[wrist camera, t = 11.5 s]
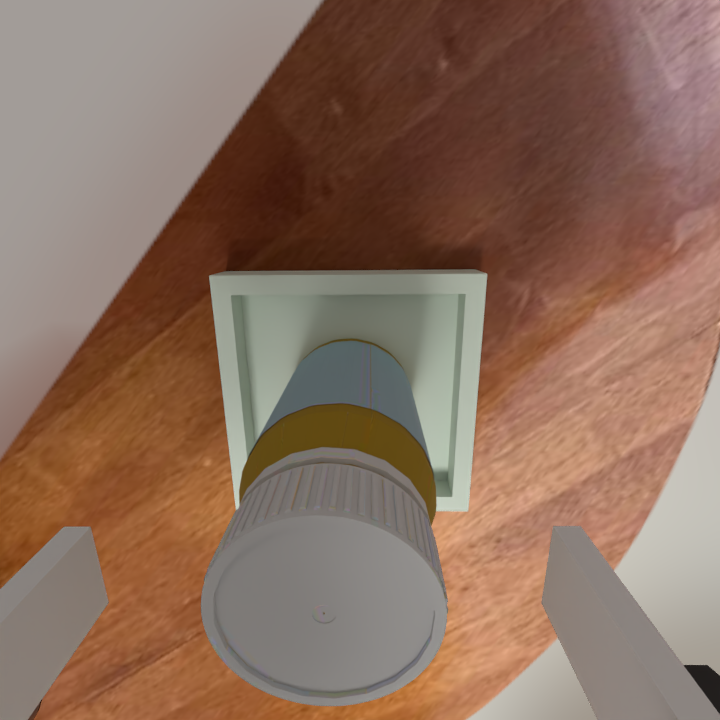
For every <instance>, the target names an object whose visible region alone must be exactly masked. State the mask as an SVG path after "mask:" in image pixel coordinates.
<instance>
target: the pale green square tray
mask: <svg viewBox="0 0 720 720" xmlns="http://www.w3.org/2000/svg"><path fill="white" fill-rule="evenodd" d="M209 280H210V289H211V297H212V306H213V315H214V323H215V332H216V341H217V349H218V358H219V366H220V375H221V384H222V392H223V401H224V410H225V418H226V427H227V436H228V444H229V453H230V462H231V470H232V479H233V488H234V496H235V505H236V510H237V509H238V508H239V505H240V504H239V488H240V482H241V476H242V471H243V468H244V466H245V464H246V462H247V459H248V456H249V454H250V452H251V450H252V449H253V447H254V445H255V443H256V441H257V439H258V438H259V436H260V434H261V432H262V430H263V428H264V426H265V425H266V423H267V421H268V419H269V417H270V415H271V414H272V412H273V410H274V408H275V406H276V404H277V403H278V401H279V399H280V397H281V395H282V393H283V392H284V390H285V388H286V386H287V384H288V382H289V381H290V379H291V377H292V375H293V373H294V372H295V370H296V368H297V367H298V365H299V364H300V362H301V361H302V360H303V358H304V357H306V356H307V355H308V354H309V353H310V352H311V351H313V350H314V349H315V348H317V347H318V346H320V345H323V344H325V343H328V342H330V341H333V340H337V339H350V338H353V339H360V340H364V341H369V342H372V343H375V344H377V345H378V346H380V347H382V348H384V349H385V350H387V351H388V352H390V353H391V354H392V355H393V356H394V357H395V358H396V360H397V361H398V362H399V363H400V364H401V365H402V367H403V369H404V371H405V373H406V376H407V378H408V380H409V383H410V385H411V389H412V393H413V397H414V400H415V404H416V408H417V412H418V416H419V419H420V423H421V427H422V431H423V435H424V438H425V442H426V446H427V450H428V454H429V457H430V461H431V465H432V469H433V473H434V480H435V485H436V504H437V506H436V511H468V507H469V495H470V483H471V470H472V458H473V445H474V433H475V420H476V408H477V396H478V383H479V371H480V358H481V346H482V333H483V321H484V309H485V296H486V284H487V273H484V272H481V271H478V270H476V269H450V270H318V271H224V272H221V273H217V274H213V275H210V276H209Z"/></svg>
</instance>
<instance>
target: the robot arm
mask: <svg viewBox="0 0 720 720" xmlns="http://www.w3.org/2000/svg"><path fill="white" fill-rule="evenodd" d="M108 603H109V602H108V598H107V594H106V589H105V585H104V581H103V577H102V573H101V568H100V564H99V560H98V556H97V552H96V547H95V543H94V539H93V535H92V531H91V527H63V528H62V529H61V530H60V531H59V532H58V533H57V534H56V535H55V536H54V537H53V538H52V539H51V540H50V541H49V542H48V543H47V544H46V545H45V546H44V547H43V548H42V549H41V550H40V551H39V552H38V553H37V554H36V555H35V556H34V557H33V558H32V559H31V560H30V561H29V562H28V563H26V564H25V565H24V566H23V567H22V568H21V569H20V570H19V571H18V572H17V573H16V574H15V575H14V576H13V577H12V578H11V579H10V580H9V581H8V582H7V583H6V584H5V585H4V586H3V587H2V588H1V589H0V720H34V718H35V716H36V714H37V712H38V709H39V705H40V701H41V700H42V698H43V697H44V695H45V694H46V693H47V691H48V690H49V688H50V687H51V685H52V684H53V682H54V681H55V680H56V678H57V677H58V675H59V674H60V672H61V671H62V669H63V668H64V667H65V665H66V664H67V662H68V661H69V659H70V658H71V656H72V655H73V653H74V652H75V651H76V649H77V648H78V646H79V645H80V643H81V642H82V640H83V639H84V638H85V636H86V635H87V633H88V632H89V630H90V629H91V627H92V626H93V625H94V623H95V622H96V620H97V619H98V617H99V616H100V614H101V613H102V612H103V610H104V609H105V607H106V606H107V604H108ZM542 605H543V607H544V609H545V611H546V613H547V615H548V618H549V620H550V622H551V624H552V626H553V628H554V630H555V632H556V634H557V636H558V638H559V640H560V643H561V645H562V647H563V649H564V651H565V653H566V655H567V657H568V659H569V661H570V663H571V665H572V668H573V669H574V672H575V673H576V676H577V678H578V680H579V682H580V684H581V686H582V688H583V690H584V693H585V694H586V697H587V699H588V701H589V703H590V705H591V707H592V709H593V711H594V713H595V715H596V717H597V720H720V676H719V675H718V674H717V673H716V672H715V671H714V670H712V669H711V668H710V667H709V666H708V665H683V664H682V663H681V661H680V660H679V659H678V657H677V656H676V655H675V653H674V652H673V650H672V649H671V648H670V647H669V645H668V644H667V642H666V641H665V640H664V638H663V637H662V636H661V634H660V633H659V632H658V630H657V629H656V627H655V626H654V625H653V624H652V622H651V621H650V620H649V618H648V617H647V615H646V614H645V613H644V611H643V610H642V609H641V607H640V606H639V605H638V603H637V602H636V600H635V599H634V598H633V596H632V595H631V594H630V592H629V591H628V590H627V588H626V587H625V586H624V584H623V583H622V582H621V580H620V579H619V577H618V576H617V575H616V573H615V572H614V571H613V569H612V568H611V567H610V565H609V564H608V563H607V561H606V560H605V559H604V557H603V556H602V554H601V553H600V552H599V550H598V549H597V548H596V546H595V545H594V544H593V542H592V541H591V540H590V538H589V537H588V536H587V534H586V533H585V531H584V530H583V529H582V527H581V526H553V530H552V537H551V544H550V550H549V557H548V563H547V570H546V577H545V583H544V590H543V596H542Z"/></svg>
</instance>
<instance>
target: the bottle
mask: <svg viewBox="0 0 720 720" xmlns="http://www.w3.org/2000/svg"><path fill="white" fill-rule="evenodd" d="M239 504H240V505H239V508H238V509H237V510H236V511H235V513H234V515H233V517H232V519H231V521H230V523H229V525H228V527H227V529H226V531H225V534H224V536H223V538H222V540H221V542H220V544H219V546H218V548H217V550H216V552H215V554H214V556H213V558H212V560H211V562H210V565H209V567H208V569H207V573H206V575H205V578H204V586H203V589H202V597H201V614H202V620H203V625H204V628H205V631H206V634H207V636H208V639H209V641H210V643H211V645H212V646H213V648H214V650H215V651H216V653H217V654H218V655H219V657H220V658H221V659H222V660H223V661H224V663H225V664H226V665H227V666H228V667H229V668H230V669H231V670H232V671H234V672H235V673H236V674H237V675H238V676H240V677H241V678H242V679H244V680H245V681H247V682H248V683H250V684H251V685H253V686H255V687H256V688H258V689H260V690H262V691H264V692H266V693H269V694H271V695H274V696H276V697H279V698H282V699H285V700H289V701H293V702H297V703H302V704H308V705H318V706H343V705H352V704H358V703H363V702H367V701H371V700H375V699H378V698H381V697H383V696H386V695H388V694H390V693H392V692H394V691H396V690H398V689H400V688H402V687H403V686H405V685H407V684H408V683H409V682H411V681H412V680H413V679H415V678H416V677H417V676H418V675H419V674H421V673H422V672H423V671H424V669H425V668H426V667H427V666H428V665H429V664H430V662H431V661H432V660H433V658H434V657H435V655H436V653H437V652H438V650H439V648H440V645H441V643H442V640H443V637H444V634H445V629H446V622H447V613H448V607H447V602H448V599H447V594H446V588H445V583H444V579H443V574H442V569H441V564H440V560H439V555H438V550H437V545H436V541H435V537H434V535H433V530H432V528H431V525H432V522H433V519H434V516H435V513H436V506H437V504H436V485H435V480H434V473H433V469H432V465H431V461H430V457H429V454H428V450H427V446H426V442H425V438H424V435H423V431H422V427H421V423H420V419H419V416H418V412H417V408H416V404H415V400H414V397H413V393H412V389H411V385H410V383H409V380H408V378H407V376H406V373H405V371H404V369H403V367H402V365H401V364H400V363H399V362H398V361H397V360H396V358H395V357H394V356H393V355H392V354H391V353H390V352H388V351H387V350H385V349H384V348H382V347H380V346H378V345H377V344H375V343H372V342H369V341H364V340H360V339H353V338H350V339H337V340H333V341H330V342H328V343H325V344H323V345H320V346H318V347H317V348H315V349H314V350H313V351H311V352H310V353H309V354H308V355H307V356H306V357H304V358H303V360H302V361H301V362H300V364H299V365H298V367H297V368H296V370H295V372H294V373H293V375H292V377H291V379H290V381H289V382H288V384H287V386H286V388H285V390H284V392H283V393H282V395H281V397H280V399H279V401H278V403H277V404H276V406H275V408H274V410H273V412H272V414H271V415H270V417H269V419H268V421H267V423H266V425H265V426H264V428H263V430H262V432H261V434H260V436H259V438H258V439H257V441H256V443H255V445H254V447H253V449H252V450H251V452H250V454H249V456H248V459H247V462H246V464H245V466H244V468H243V471H242V476H241V482H240V488H239Z"/></svg>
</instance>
